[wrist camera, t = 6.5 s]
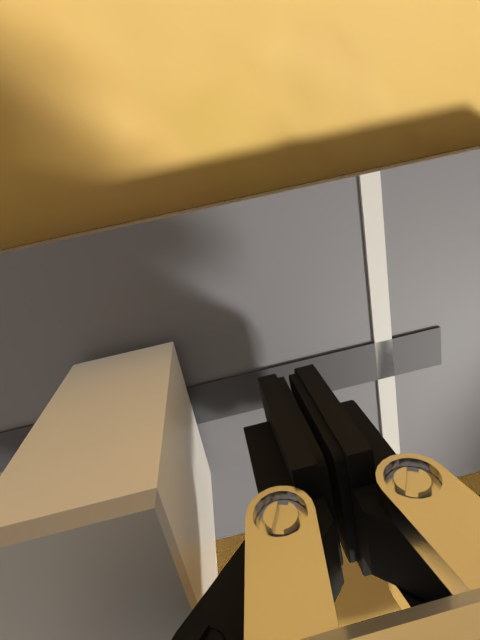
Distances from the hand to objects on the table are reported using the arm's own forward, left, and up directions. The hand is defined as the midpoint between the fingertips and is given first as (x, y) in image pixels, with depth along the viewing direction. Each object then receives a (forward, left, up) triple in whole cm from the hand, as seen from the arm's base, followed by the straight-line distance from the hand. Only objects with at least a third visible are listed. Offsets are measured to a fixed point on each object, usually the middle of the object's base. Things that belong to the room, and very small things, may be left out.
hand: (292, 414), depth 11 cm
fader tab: (0, -4, -1) cm, 5 cm away
